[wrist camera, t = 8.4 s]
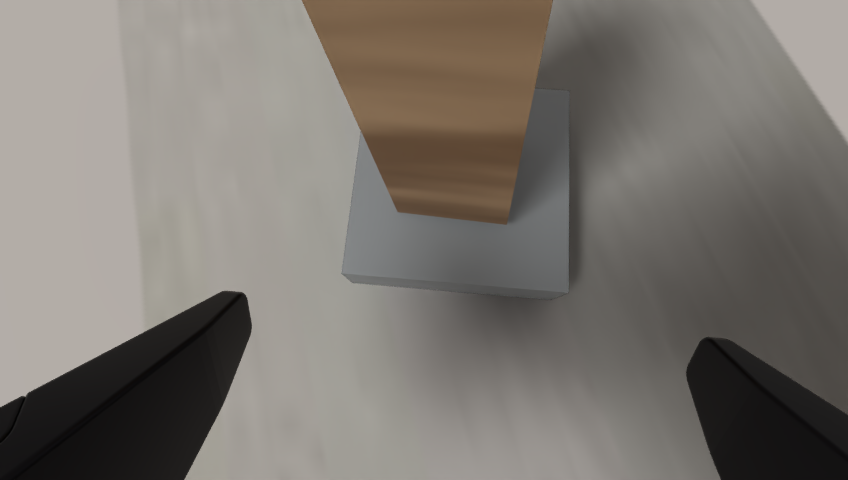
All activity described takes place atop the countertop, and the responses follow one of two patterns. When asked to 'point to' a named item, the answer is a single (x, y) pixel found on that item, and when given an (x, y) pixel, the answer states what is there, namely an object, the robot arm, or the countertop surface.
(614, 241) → the countertop surface
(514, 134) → the walnut block
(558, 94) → the grey base block
